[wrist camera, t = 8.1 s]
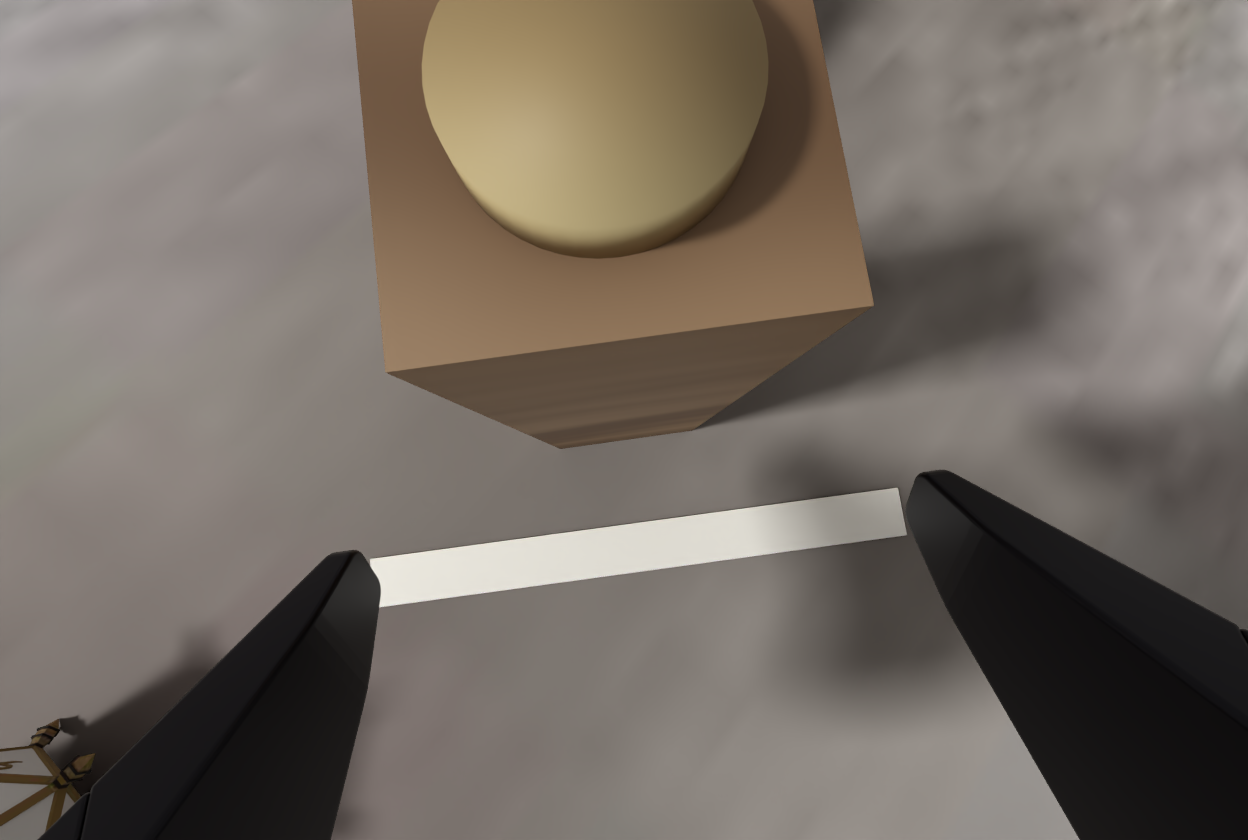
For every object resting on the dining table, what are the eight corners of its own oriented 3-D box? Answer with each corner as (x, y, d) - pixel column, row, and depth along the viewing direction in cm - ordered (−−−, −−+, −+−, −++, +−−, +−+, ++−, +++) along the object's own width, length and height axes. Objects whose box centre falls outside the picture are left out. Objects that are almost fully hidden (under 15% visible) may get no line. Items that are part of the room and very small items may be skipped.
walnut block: (692, 430, 18) (910, 281, 4) (560, 448, 18) (351, 357, 4) (672, 303, 18) (809, -197, 5) (544, 320, 18) (310, -136, 5)
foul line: (897, 487, 17) (897, 487, 17) (905, 535, 17) (906, 535, 17) (371, 558, 17) (370, 559, 17) (374, 607, 17) (373, 608, 17)
